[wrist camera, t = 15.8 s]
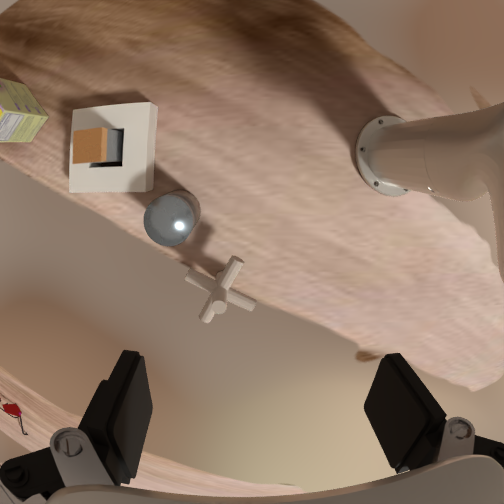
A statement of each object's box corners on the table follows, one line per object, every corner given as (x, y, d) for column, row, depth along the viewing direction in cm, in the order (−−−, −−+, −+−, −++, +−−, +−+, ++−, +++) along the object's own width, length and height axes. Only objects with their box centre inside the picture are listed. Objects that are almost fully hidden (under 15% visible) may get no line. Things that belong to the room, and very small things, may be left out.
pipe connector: (178, 288, 45) (165, 321, 35) (207, 232, 42) (199, 252, 33) (236, 316, 47) (236, 352, 37) (267, 263, 44) (276, 291, 35)
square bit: (130, 134, 38) (102, 127, 28) (129, 161, 39) (100, 161, 29) (106, 136, 37) (73, 131, 28) (105, 162, 38) (72, 164, 29)
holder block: (158, 107, 37) (150, 101, 33) (153, 189, 40) (145, 192, 36) (85, 113, 36) (73, 109, 32) (82, 189, 39) (69, 192, 35)
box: (7, 109, 33) (-36, 104, 22) (25, 83, 33) (-17, 72, 21) (30, 143, 36) (-15, 144, 25) (49, 117, 35) (5, 110, 24)
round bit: (201, 190, 41) (193, 196, 33) (199, 232, 42) (192, 247, 35) (160, 189, 40) (143, 195, 33) (159, 230, 42) (144, 245, 34)
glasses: (24, 408, 53) (17, 419, 49) (28, 434, 57) (22, 444, 52) (-11, 381, 51) (-19, 391, 46) (-5, 411, 55) (-11, 420, 50)
